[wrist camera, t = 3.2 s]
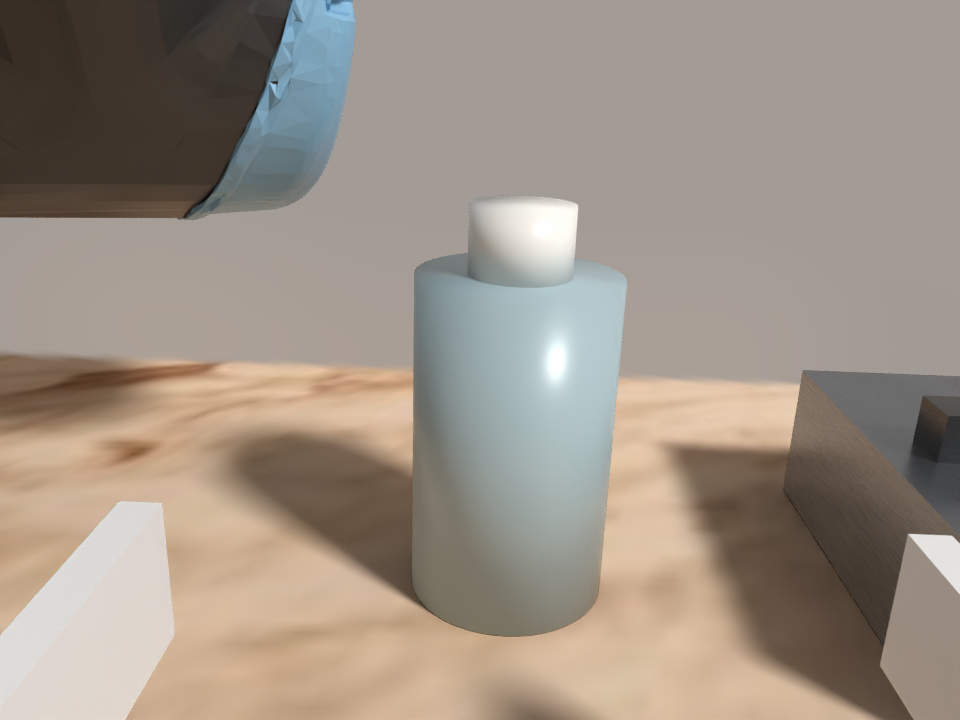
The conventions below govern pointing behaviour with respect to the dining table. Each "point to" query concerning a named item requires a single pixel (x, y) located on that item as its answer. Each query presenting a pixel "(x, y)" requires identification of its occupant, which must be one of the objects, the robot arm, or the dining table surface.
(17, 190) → the robot arm
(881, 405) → the block
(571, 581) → the white-capped plastic bottle
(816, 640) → the dining table surface
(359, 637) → the dining table surface
